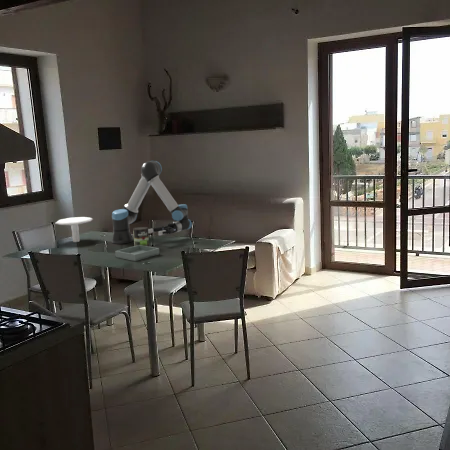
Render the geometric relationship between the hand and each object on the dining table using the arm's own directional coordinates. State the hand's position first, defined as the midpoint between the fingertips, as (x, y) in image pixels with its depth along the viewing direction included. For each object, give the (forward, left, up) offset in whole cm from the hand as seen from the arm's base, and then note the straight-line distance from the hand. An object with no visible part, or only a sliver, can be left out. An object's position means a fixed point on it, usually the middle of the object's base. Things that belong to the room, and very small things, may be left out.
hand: (152, 232), depth 341 cm
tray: (+15, -26, -9) cm, 31 cm away
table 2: (-64, -21, -9) cm, 68 cm away
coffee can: (0, -10, -9) cm, 14 cm away
